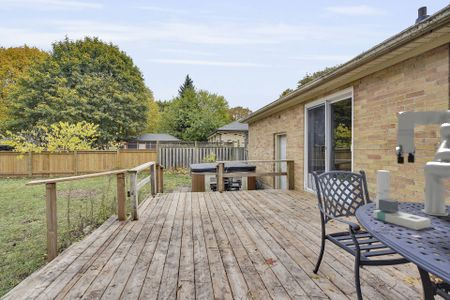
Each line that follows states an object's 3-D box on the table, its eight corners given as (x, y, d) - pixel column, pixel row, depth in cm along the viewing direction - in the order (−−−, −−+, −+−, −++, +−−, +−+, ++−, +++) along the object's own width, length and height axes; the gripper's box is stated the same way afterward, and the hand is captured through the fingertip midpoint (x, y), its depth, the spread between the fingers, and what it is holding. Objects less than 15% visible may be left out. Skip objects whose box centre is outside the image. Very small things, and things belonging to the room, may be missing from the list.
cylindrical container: (391, 211, 156) (392, 171, 155) (378, 210, 157) (379, 171, 157) (386, 208, 163) (387, 170, 162) (374, 207, 164) (375, 170, 164)
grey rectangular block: (385, 216, 144) (385, 198, 144) (397, 219, 137) (398, 201, 137) (378, 217, 141) (378, 199, 141) (391, 221, 135) (391, 201, 135)
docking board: (373, 217, 141) (373, 210, 141) (386, 215, 146) (386, 208, 146) (416, 229, 121) (416, 221, 121) (430, 226, 126) (430, 218, 126)
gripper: (407, 133, 148) (407, 161, 149) (389, 133, 141) (389, 163, 141) (422, 132, 141) (422, 162, 142) (403, 133, 134) (403, 164, 135)
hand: (405, 163), depth 142 cm, fingers open, 9 cm apart
